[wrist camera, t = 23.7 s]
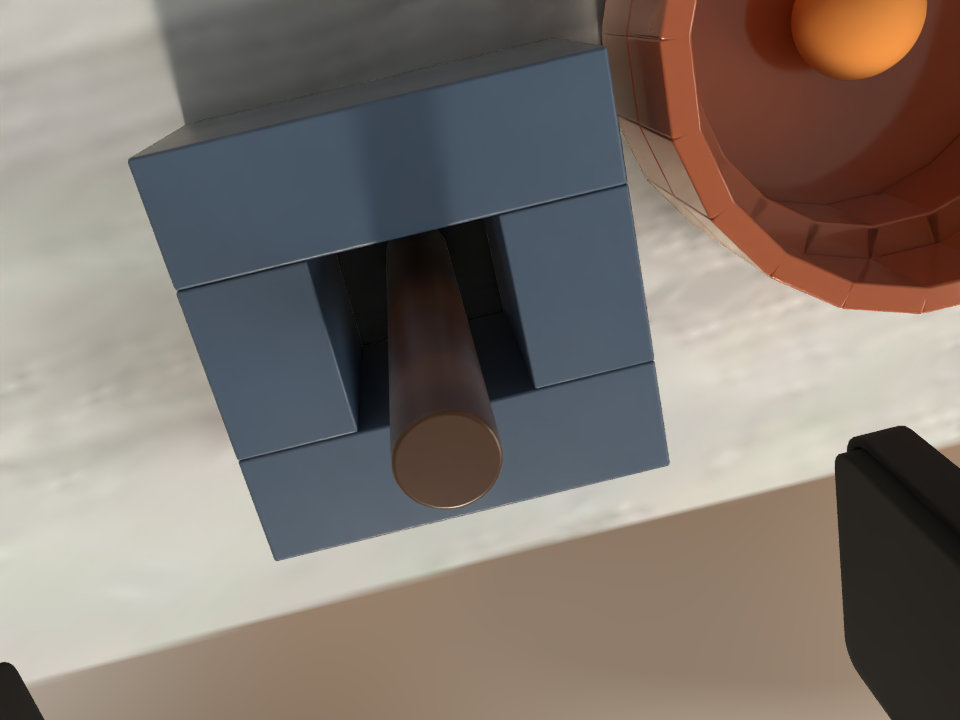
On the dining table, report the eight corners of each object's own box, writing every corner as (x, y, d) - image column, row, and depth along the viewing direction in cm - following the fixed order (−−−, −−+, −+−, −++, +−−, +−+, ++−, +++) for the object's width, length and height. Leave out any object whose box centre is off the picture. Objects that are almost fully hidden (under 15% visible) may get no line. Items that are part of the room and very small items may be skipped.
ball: (795, 61, 21) (833, -80, 21) (763, 71, 25) (795, -51, 24) (925, 87, 21) (968, -54, 21) (877, 94, 25) (913, -29, 24)
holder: (184, 124, 24) (125, 159, 18) (555, 36, 24) (607, 45, 19) (295, 452, 28) (275, 562, 22) (613, 375, 28) (670, 466, 23)
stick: (381, 226, 26) (381, 420, 14) (442, 217, 26) (497, 402, 14) (391, 285, 26) (400, 519, 14) (451, 276, 26) (510, 501, 14)
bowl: (559, -202, 22) (619, -273, 17) (1074, -322, 22) (1304, -431, 17) (636, 295, 27) (701, 368, 22) (1054, 194, 27) (1224, 241, 22)
